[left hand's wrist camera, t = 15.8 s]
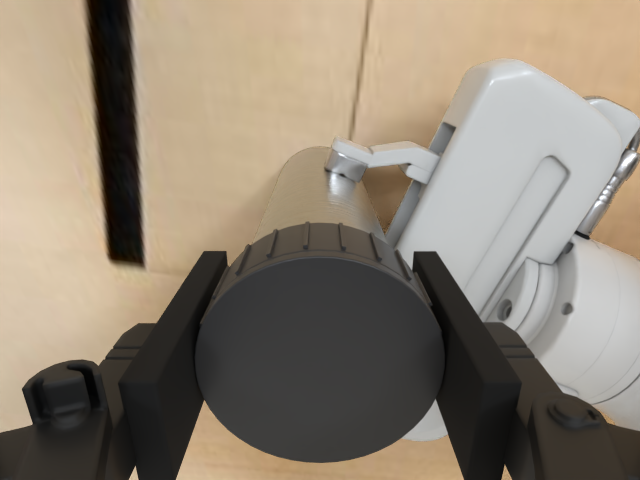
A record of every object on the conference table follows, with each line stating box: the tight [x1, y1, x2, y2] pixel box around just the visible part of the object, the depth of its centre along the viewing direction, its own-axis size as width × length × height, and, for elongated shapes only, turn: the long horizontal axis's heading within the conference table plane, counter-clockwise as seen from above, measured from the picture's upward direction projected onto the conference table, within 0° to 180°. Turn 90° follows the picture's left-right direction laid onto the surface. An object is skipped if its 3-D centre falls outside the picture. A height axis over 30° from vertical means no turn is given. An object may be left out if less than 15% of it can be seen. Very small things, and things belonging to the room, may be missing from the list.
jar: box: [252, 147, 388, 244], centre depth 19 cm, size 5×5×17 cm
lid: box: [194, 221, 445, 463], centre depth 12 cm, size 6×6×2 cm
